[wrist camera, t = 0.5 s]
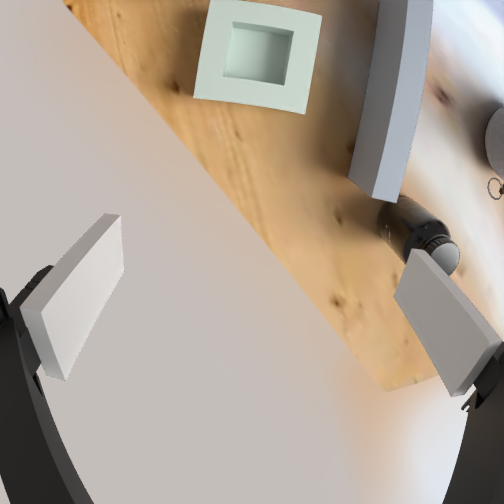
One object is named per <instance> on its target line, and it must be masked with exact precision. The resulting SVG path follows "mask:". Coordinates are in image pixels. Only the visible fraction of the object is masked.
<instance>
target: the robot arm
mask: <svg viewBox="0 0 504 504" xmlns="http://www.w3.org/2000/svg"><path fill="white" fill-rule="evenodd" d="M123 272H124V264H123V250H122V232H121V215H114V214H104V215H103V216H102V217H101V218H100V219H99V220H98V221H97V222H96V223H95V224H94V225H93V226H92V227H91V228H90V229H89V230H88V231H87V232H86V233H85V234H84V235H83V236H82V237H81V238H80V239H79V240H78V241H77V242H76V243H75V244H74V245H73V246H72V247H71V249H70V250H69V251H68V252H67V253H66V254H65V255H64V256H63V257H62V258H61V259H60V260H59V261H58V263H57V264H56V265H55V266H51V265H48V266H47V267H45V268H44V269H42V270H40V271H38V272H37V274H36V275H35V276H34V277H33V278H32V279H31V281H30V282H28V283H27V285H26V286H25V288H24V289H22V290H21V291H20V293H19V294H18V295H17V296H16V297H15V299H14V300H13V301H12V302H11V303H10V304H8V301H7V298H6V294H5V292H4V290H3V289H2V288H0V475H1V478H2V481H3V484H4V487H5V490H6V493H7V495H8V498H9V501H10V504H94V503H93V501H92V499H91V498H90V496H89V494H88V492H87V491H86V489H85V487H84V485H83V483H82V481H81V480H80V478H79V476H78V474H77V472H76V470H75V468H74V466H73V464H72V462H71V459H70V458H69V455H68V453H67V451H66V449H65V446H64V444H63V442H62V439H61V437H60V435H59V432H58V430H57V427H56V425H55V422H54V420H53V417H52V415H51V412H50V409H49V406H48V404H47V401H46V398H45V395H44V392H43V389H42V386H41V383H40V380H39V377H38V375H37V373H36V371H37V369H38V367H39V366H40V364H41V365H42V367H43V369H44V371H45V373H46V375H47V376H50V377H54V378H57V379H61V380H64V381H66V380H67V378H68V375H69V374H70V371H71V369H72V367H73V365H74V363H75V361H76V359H77V357H78V355H79V353H80V350H81V349H82V347H83V345H84V343H85V341H86V339H87V337H88V335H89V333H90V331H91V329H92V328H93V326H94V324H95V322H96V320H97V318H98V316H99V314H100V313H101V311H102V309H103V307H104V305H105V304H106V302H107V300H108V298H109V296H110V295H111V293H112V291H113V289H114V287H115V286H116V284H117V282H118V281H119V279H120V277H121V276H122V274H123ZM393 297H394V298H395V300H396V301H397V303H398V305H399V306H400V308H401V309H402V311H403V313H404V314H405V316H406V318H407V319H408V321H409V323H410V324H411V326H412V328H413V329H414V331H415V333H416V334H417V336H418V338H419V339H420V341H421V343H422V345H423V346H424V348H425V350H426V352H427V353H428V355H429V357H430V359H431V360H432V362H433V364H434V366H435V368H436V370H437V371H438V373H439V375H440V377H441V379H442V380H443V383H444V384H445V386H446V388H447V390H448V392H449V394H450V396H451V397H455V396H460V395H464V394H465V393H466V392H467V390H468V389H469V388H470V387H471V386H472V384H474V386H475V387H476V390H475V391H474V393H473V394H472V395H471V396H470V398H469V399H468V400H467V401H466V402H465V404H464V405H463V406H462V408H461V409H462V410H464V408H465V407H466V406H468V405H469V406H470V407H469V408H468V410H467V411H466V412H468V417H467V422H466V426H465V431H464V435H463V439H462V443H461V447H460V451H459V454H458V458H457V462H456V465H455V468H454V472H453V475H452V478H451V481H450V484H449V487H448V490H447V493H446V495H445V498H444V501H443V503H442V504H504V342H503V341H502V339H501V338H500V337H499V335H498V334H497V333H496V332H495V330H494V329H493V328H492V326H491V325H490V324H489V323H488V321H487V320H486V319H485V318H484V316H483V315H482V314H481V313H480V312H479V310H478V309H477V308H476V307H475V306H474V304H473V303H472V302H471V301H470V300H469V298H468V297H467V296H466V295H465V294H464V293H463V292H462V290H461V289H460V288H459V287H458V286H457V285H456V284H455V283H454V281H453V280H452V279H451V278H450V277H449V276H448V275H447V274H446V273H445V271H444V270H443V269H442V268H441V267H440V266H439V265H438V264H437V263H436V262H435V261H434V260H433V259H432V258H431V257H430V256H429V255H428V253H427V252H426V251H425V250H420V249H413V248H412V250H411V252H410V255H409V258H408V261H407V263H406V266H405V269H404V271H403V274H402V276H401V279H400V282H399V284H398V287H397V289H396V292H395V294H394V296H393Z"/></svg>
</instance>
